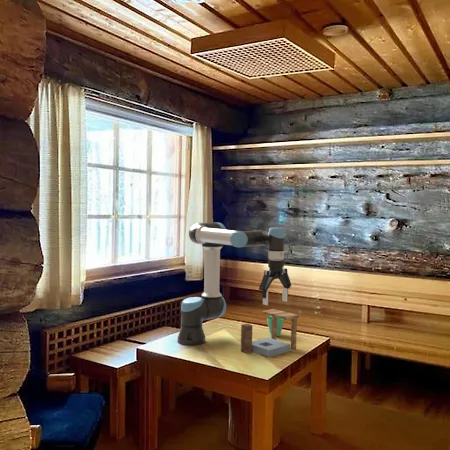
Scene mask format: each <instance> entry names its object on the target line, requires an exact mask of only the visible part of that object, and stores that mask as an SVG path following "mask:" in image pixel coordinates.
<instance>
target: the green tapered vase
mask: <svg viewBox="0 0 450 450" xmlns="http://www.w3.org/2000/svg"><path fill="white" fill-rule="evenodd" d="M266 322H267V323H266V324H267V327H268V330H269V334H270V336H271V335H272V316H270V315H268V316H267V318H266ZM284 322H285V319H281V318H277V336H278V337H279V336H280V335H281V333H282V330H283V327H284Z"/></svg>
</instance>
